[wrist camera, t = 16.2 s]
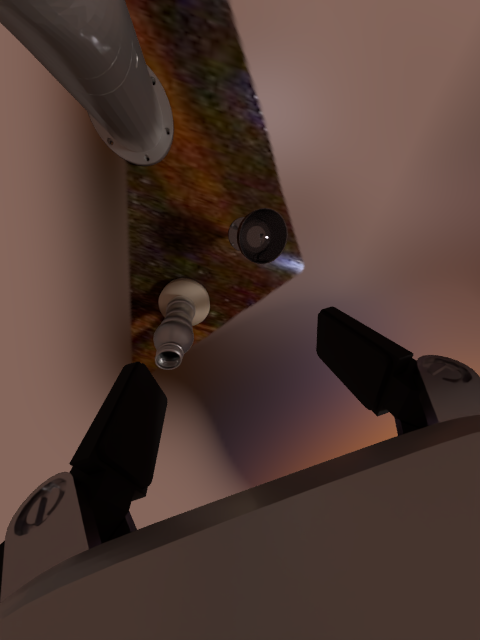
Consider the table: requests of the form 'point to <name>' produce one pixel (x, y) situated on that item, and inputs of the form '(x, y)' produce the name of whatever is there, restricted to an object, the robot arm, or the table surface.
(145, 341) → the table surface
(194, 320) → the pedestal
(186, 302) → the plastic bottle
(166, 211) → the table surface
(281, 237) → the wine glass
